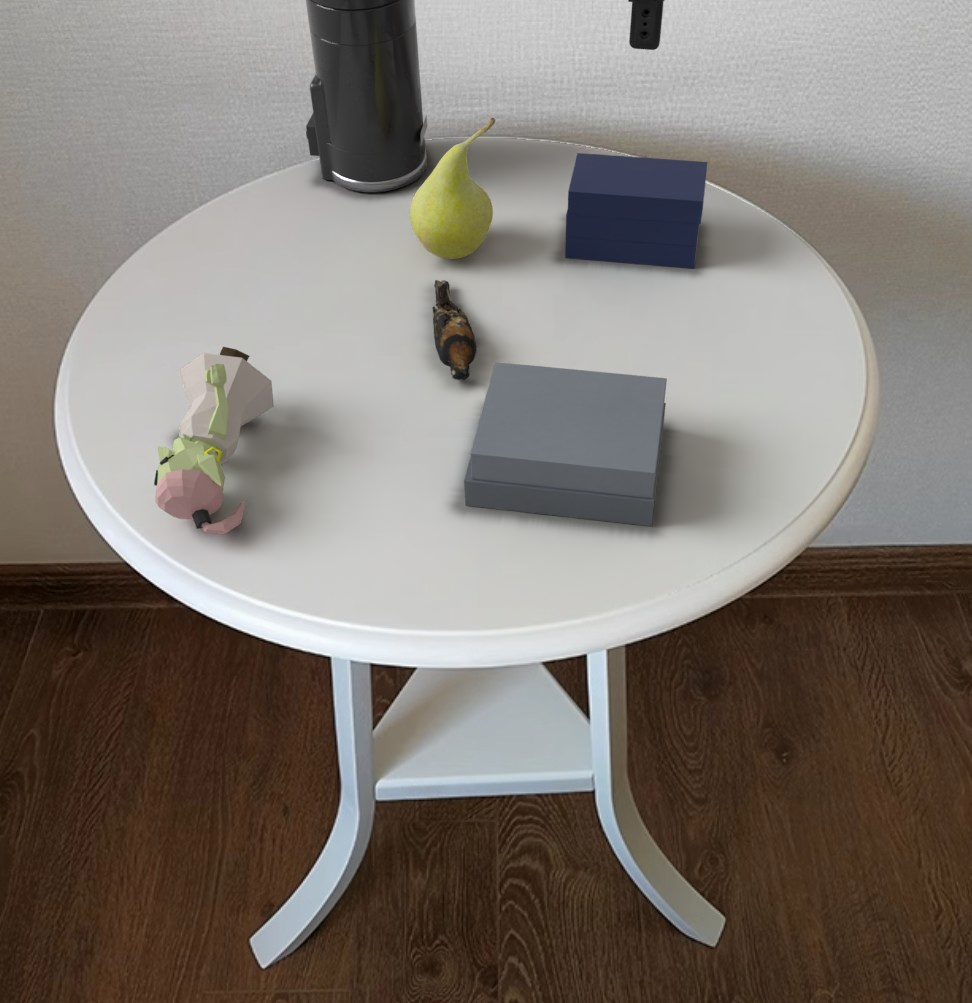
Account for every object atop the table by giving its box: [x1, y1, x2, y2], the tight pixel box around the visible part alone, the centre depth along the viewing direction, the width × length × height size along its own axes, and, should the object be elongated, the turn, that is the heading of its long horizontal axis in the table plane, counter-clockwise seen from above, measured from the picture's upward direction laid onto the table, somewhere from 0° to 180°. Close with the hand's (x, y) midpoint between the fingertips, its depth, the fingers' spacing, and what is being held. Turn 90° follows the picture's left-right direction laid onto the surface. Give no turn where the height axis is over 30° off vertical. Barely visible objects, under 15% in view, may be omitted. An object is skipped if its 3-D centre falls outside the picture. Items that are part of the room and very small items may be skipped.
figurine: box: [153, 346, 275, 535], centre depth 88 cm, size 9×7×15 cm
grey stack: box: [463, 361, 668, 527], centre depth 88 cm, size 13×10×5 cm
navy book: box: [567, 152, 708, 225], centre depth 104 cm, size 6×11×2 cm, turn 80°
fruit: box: [409, 117, 496, 260], centre depth 104 cm, size 7×8×12 cm
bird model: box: [431, 279, 477, 381], centre depth 99 cm, size 3×14×3 cm, turn 6°
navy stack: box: [564, 208, 700, 269], centre depth 107 cm, size 6×11×4 cm, turn 80°
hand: (649, 20), depth 95 cm, fingers open, 8 cm apart
